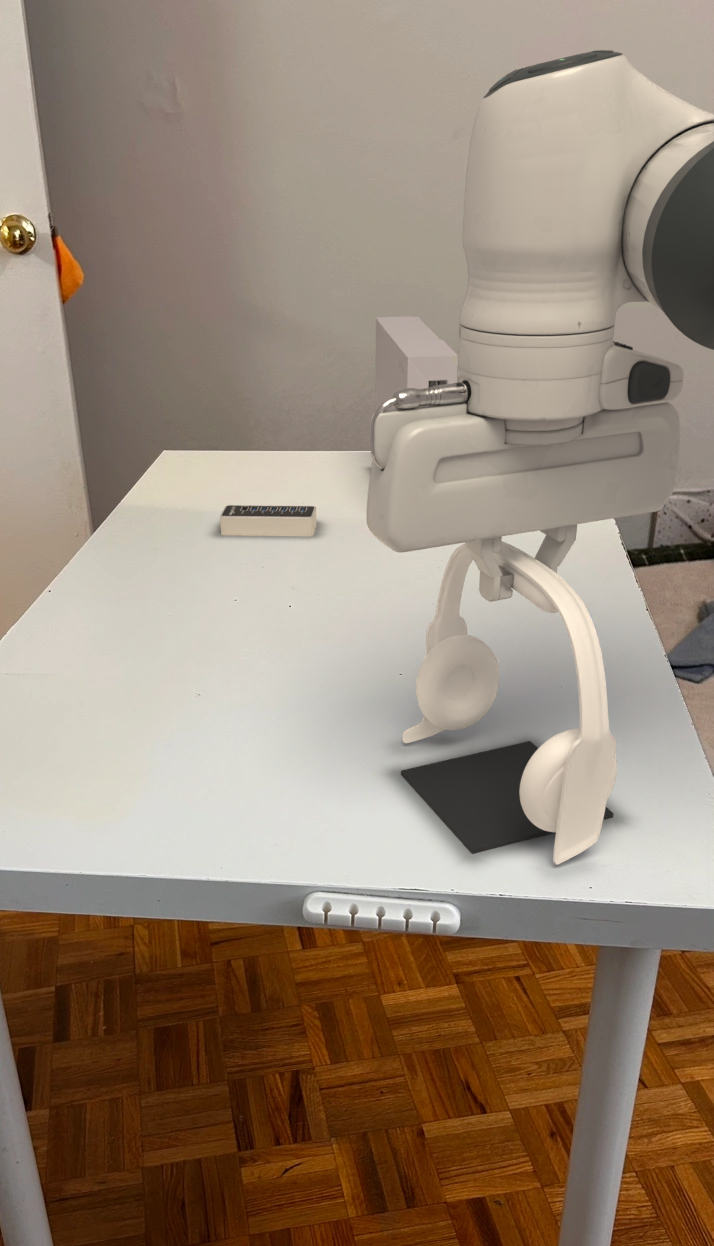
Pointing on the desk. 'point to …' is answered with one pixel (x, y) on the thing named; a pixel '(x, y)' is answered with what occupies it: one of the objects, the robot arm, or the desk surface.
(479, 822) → the desk mat
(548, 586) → the headset
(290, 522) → the multiport hub
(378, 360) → the game console
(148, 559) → the desk surface
